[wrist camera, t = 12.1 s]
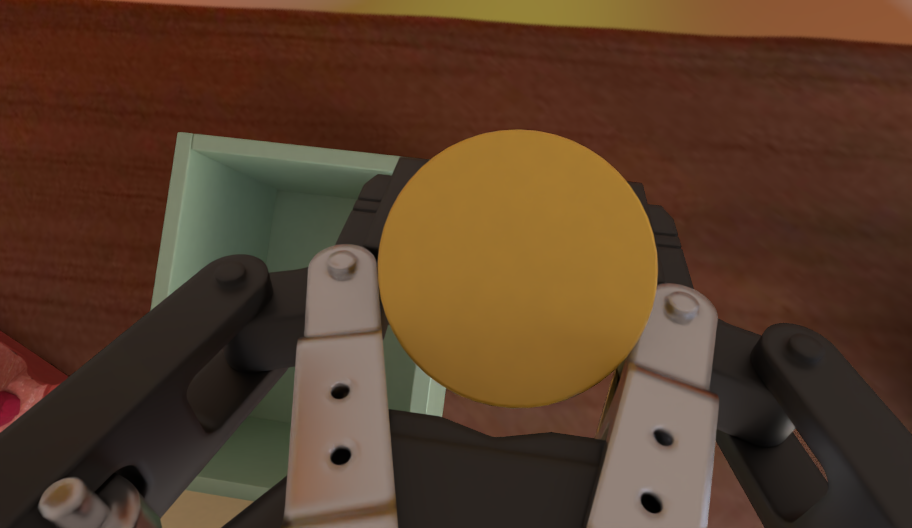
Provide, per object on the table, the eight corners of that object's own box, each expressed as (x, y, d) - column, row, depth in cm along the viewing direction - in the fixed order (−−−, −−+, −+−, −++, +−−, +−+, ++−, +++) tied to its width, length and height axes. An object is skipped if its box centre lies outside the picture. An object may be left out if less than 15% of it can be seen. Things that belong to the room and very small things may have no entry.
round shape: (504, 186, 17) (521, 71, 8) (597, 284, 17) (720, 273, 8) (407, 277, 17) (320, 259, 8) (498, 376, 17) (509, 470, 8)
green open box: (272, 179, 36) (176, 131, 25) (469, 202, 35) (459, 162, 24) (237, 423, 35) (123, 482, 24) (437, 454, 34) (411, 530, 23)
